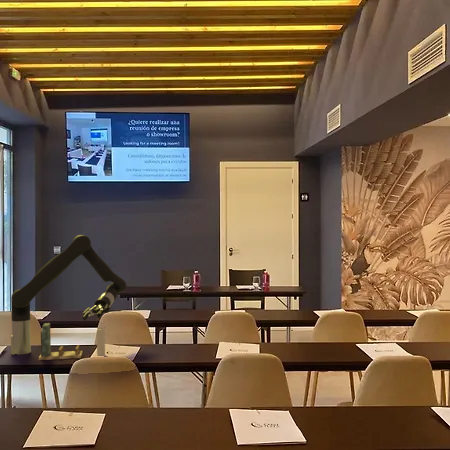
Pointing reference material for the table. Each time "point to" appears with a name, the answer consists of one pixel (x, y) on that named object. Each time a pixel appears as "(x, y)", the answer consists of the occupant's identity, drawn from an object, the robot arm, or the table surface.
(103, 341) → the cream book
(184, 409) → the table surface
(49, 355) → the book rack
